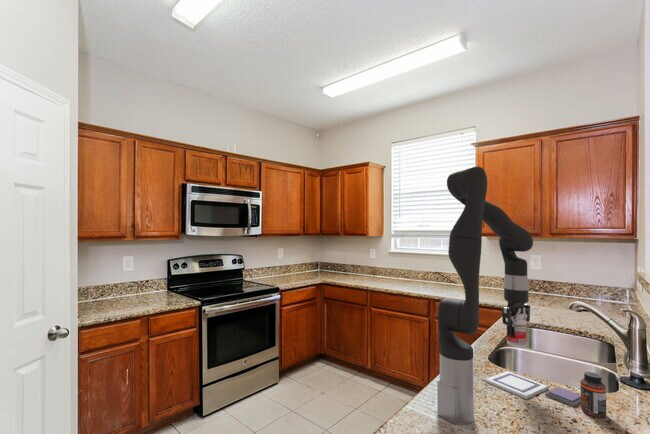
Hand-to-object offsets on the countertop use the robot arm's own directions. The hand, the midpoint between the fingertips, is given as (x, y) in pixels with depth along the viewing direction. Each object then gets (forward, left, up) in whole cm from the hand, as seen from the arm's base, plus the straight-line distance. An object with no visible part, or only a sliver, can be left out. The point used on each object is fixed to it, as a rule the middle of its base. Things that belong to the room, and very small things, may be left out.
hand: (516, 335), depth 114 cm
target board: (0, +1, -17) cm, 17 cm away
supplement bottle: (+2, -21, -18) cm, 27 cm away
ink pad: (+5, -12, -17) cm, 22 cm away
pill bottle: (0, 0, -3) cm, 3 cm away
